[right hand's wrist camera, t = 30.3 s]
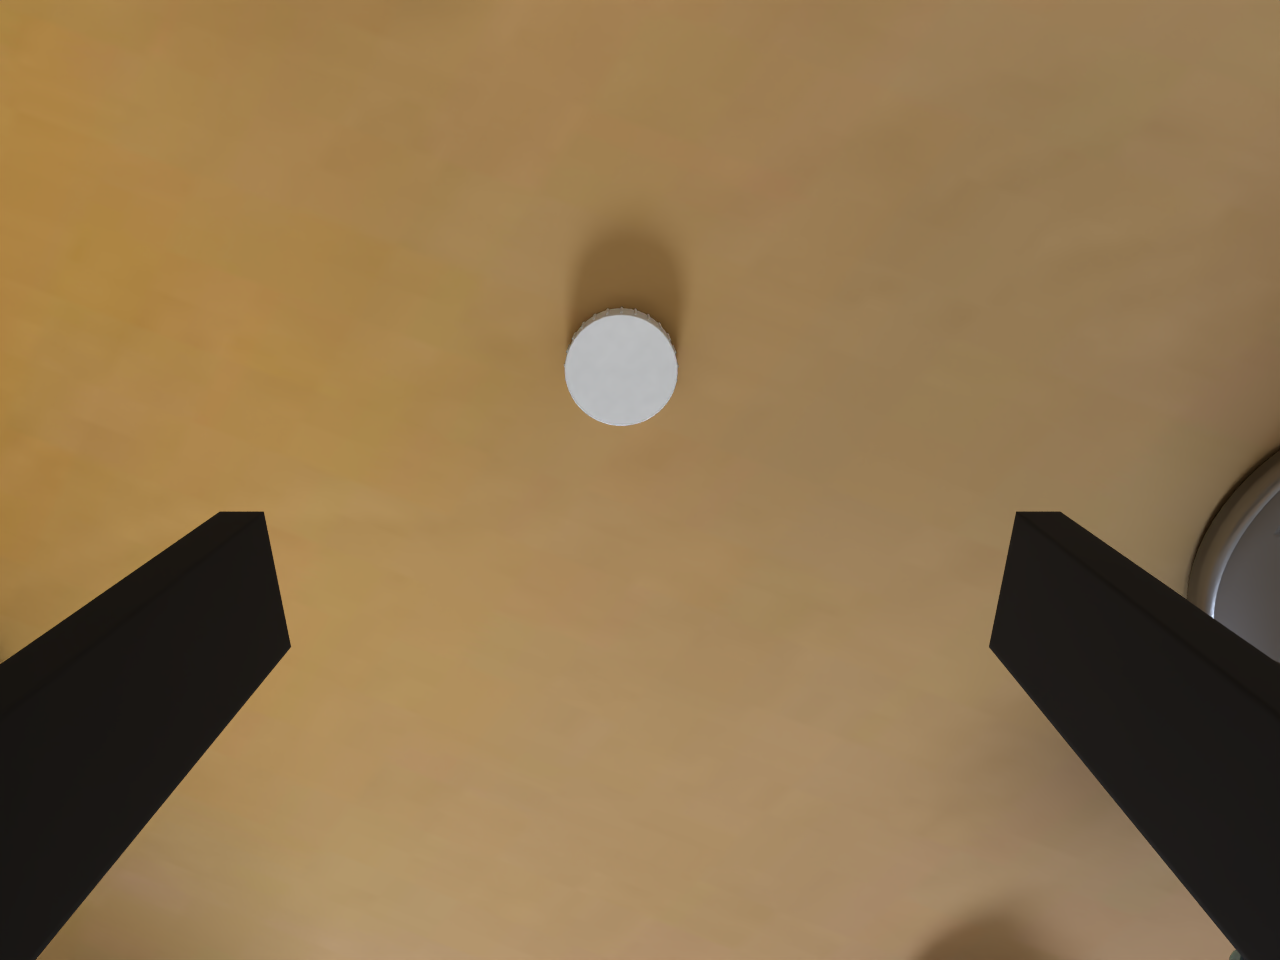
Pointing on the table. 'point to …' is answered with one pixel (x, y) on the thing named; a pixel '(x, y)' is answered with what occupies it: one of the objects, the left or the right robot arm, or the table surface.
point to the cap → (621, 367)
